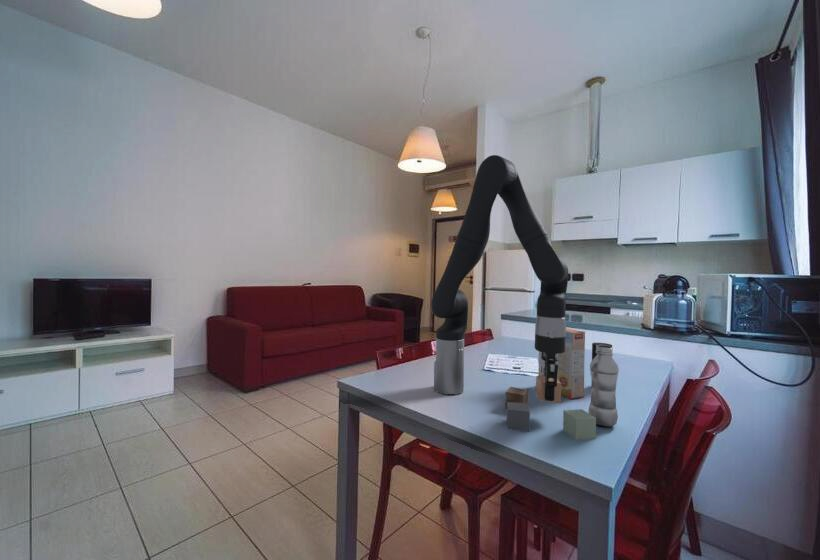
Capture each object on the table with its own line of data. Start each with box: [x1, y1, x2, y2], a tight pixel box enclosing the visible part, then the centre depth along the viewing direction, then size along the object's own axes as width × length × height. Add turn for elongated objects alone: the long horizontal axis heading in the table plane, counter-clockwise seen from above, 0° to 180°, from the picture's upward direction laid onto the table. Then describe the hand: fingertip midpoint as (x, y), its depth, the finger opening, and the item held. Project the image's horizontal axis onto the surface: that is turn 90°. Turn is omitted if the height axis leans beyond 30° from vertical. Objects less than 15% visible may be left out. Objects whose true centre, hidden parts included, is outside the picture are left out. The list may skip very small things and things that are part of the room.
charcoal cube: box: [506, 402, 531, 432], centre depth 83 cm, size 5×5×5 cm
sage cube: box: [562, 408, 597, 441], centre depth 79 cm, size 5×5×5 cm
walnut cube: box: [505, 386, 529, 410], centre depth 94 cm, size 5×5×5 cm
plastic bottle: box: [588, 345, 620, 428], centre depth 84 cm, size 6×7×20 cm
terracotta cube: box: [535, 375, 562, 403], centre depth 87 cm, size 5×5×5 cm
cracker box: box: [537, 327, 586, 400], centre depth 108 cm, size 14×6×21 cm, turn 22°
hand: (547, 395), depth 87 cm, fingers closed on terracotta cube, 5 cm apart
